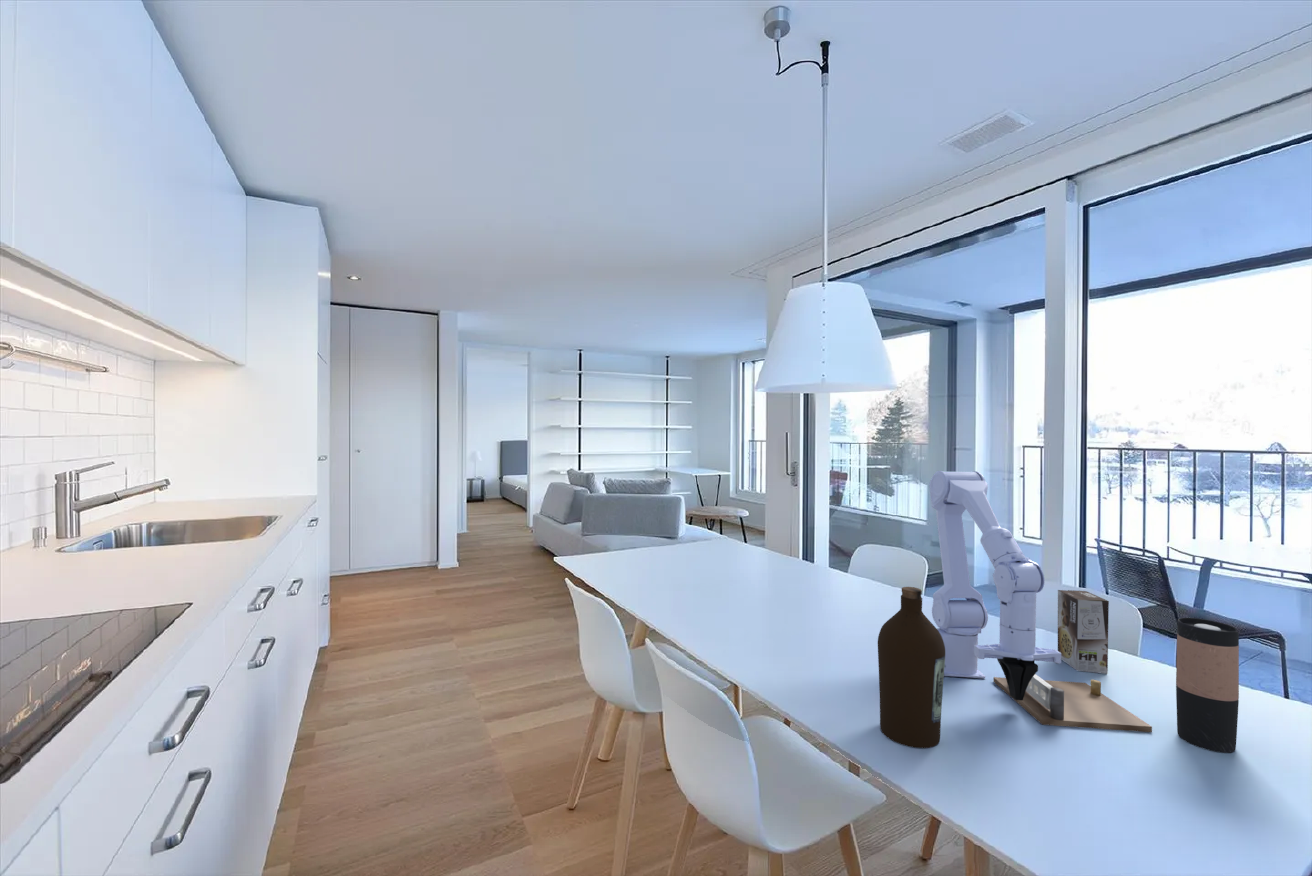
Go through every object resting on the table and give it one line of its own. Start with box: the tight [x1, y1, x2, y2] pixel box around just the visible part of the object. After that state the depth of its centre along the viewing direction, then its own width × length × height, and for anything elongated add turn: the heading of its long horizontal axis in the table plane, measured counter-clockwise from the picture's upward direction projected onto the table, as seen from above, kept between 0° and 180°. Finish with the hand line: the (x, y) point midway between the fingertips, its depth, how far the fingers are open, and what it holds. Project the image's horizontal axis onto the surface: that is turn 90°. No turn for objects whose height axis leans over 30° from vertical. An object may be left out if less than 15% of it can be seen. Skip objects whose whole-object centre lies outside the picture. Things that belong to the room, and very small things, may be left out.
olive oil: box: [877, 586, 945, 749], centre depth 96 cm, size 11×11×25 cm
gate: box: [1026, 673, 1052, 710], centre depth 108 cm, size 11×1×4 cm, turn 173°
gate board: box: [993, 676, 1153, 733], centre depth 108 cm, size 18×18×6 cm
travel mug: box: [1175, 617, 1240, 754], centre depth 96 cm, size 8×8×20 cm
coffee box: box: [1057, 589, 1110, 675], centre depth 128 cm, size 9×6×16 cm
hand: (1016, 697), depth 106 cm, fingers closed
